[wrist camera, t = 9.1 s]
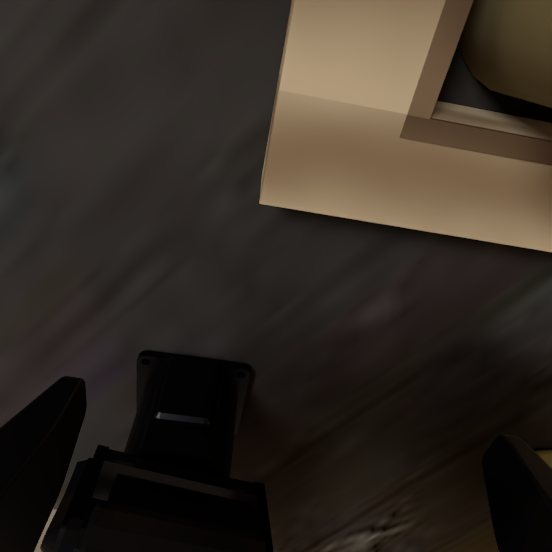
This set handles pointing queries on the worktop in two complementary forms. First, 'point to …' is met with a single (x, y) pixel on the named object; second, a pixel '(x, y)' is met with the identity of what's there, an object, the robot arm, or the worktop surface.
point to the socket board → (399, 128)
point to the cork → (511, 47)
